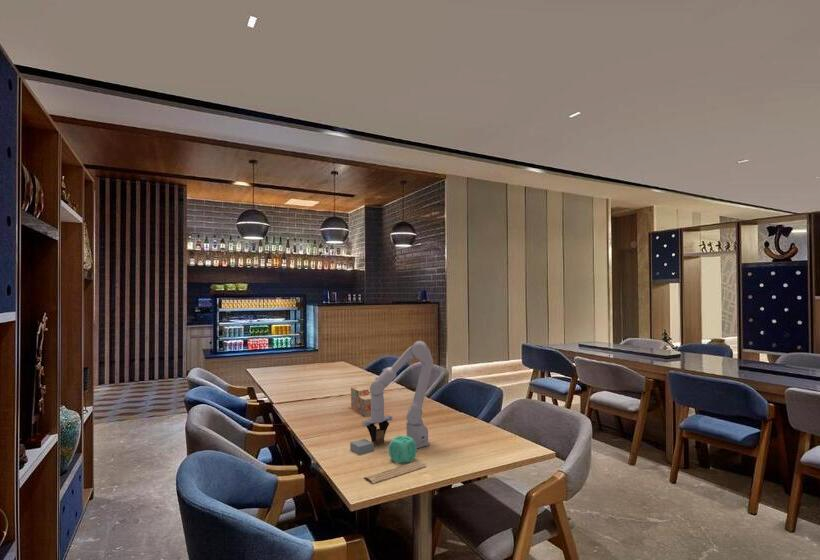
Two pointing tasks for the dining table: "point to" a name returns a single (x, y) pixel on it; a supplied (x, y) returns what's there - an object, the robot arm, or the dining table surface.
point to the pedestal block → (361, 446)
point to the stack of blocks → (361, 400)
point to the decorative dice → (402, 449)
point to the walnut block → (379, 437)
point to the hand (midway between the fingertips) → (377, 439)
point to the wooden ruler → (396, 472)
